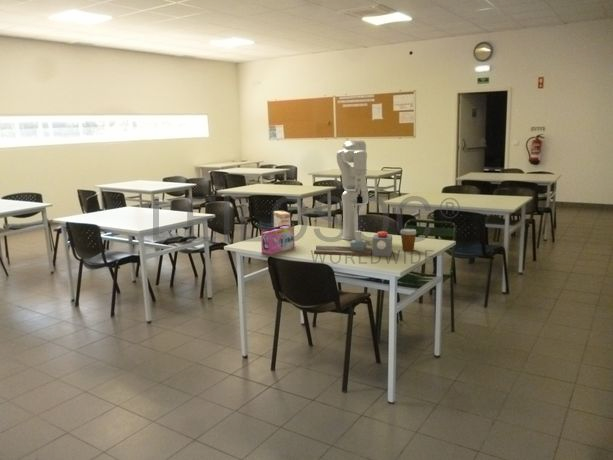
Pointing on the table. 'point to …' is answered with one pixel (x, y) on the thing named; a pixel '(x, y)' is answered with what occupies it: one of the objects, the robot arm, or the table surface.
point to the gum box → (277, 239)
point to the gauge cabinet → (382, 245)
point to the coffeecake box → (281, 218)
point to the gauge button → (382, 234)
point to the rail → (341, 250)
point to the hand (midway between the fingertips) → (359, 203)
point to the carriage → (358, 242)
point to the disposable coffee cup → (408, 239)
